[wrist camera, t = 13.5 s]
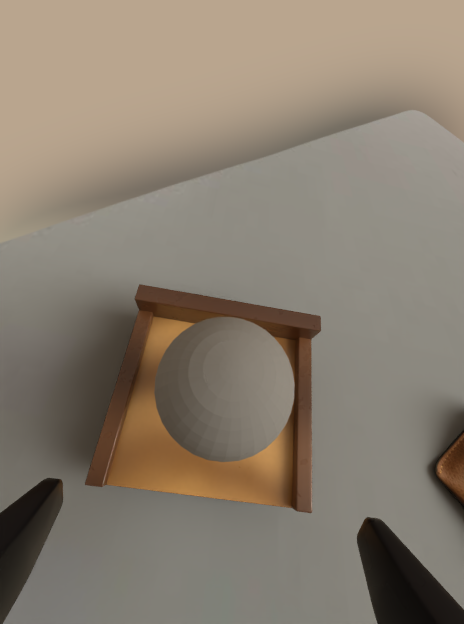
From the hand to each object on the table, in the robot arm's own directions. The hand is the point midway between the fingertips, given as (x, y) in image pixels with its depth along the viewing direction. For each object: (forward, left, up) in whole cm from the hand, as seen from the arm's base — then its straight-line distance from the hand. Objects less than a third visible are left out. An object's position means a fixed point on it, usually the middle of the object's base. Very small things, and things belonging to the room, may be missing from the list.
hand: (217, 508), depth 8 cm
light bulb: (+2, -3, -10) cm, 10 cm away
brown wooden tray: (+3, -4, -12) cm, 13 cm away
